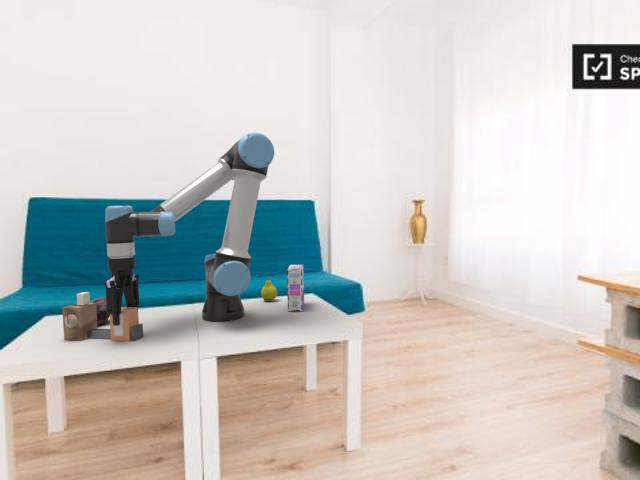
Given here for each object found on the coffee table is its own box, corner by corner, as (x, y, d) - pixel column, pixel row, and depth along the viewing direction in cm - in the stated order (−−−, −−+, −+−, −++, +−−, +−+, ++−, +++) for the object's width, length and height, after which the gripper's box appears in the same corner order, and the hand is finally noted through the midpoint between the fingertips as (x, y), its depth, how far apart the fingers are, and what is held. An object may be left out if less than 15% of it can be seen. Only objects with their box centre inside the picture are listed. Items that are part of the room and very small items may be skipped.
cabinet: (97, 333, 132) (96, 302, 131) (80, 341, 124) (78, 307, 123) (80, 333, 133) (79, 301, 132) (62, 340, 125) (60, 307, 124)
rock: (79, 332, 139) (111, 329, 141) (75, 308, 137) (108, 305, 139) (89, 318, 150) (119, 315, 152) (86, 296, 148) (116, 293, 150)
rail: (143, 336, 128) (142, 323, 128) (134, 340, 124) (134, 327, 123) (92, 334, 131) (91, 322, 130) (82, 339, 126) (81, 326, 126)
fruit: (279, 299, 179) (278, 271, 179) (275, 302, 173) (275, 274, 172) (263, 299, 180) (262, 272, 179) (259, 302, 173) (258, 274, 172)
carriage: (139, 335, 129) (138, 307, 128) (129, 341, 123) (127, 311, 123) (121, 335, 130) (120, 307, 129) (111, 340, 124) (109, 311, 124)
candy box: (303, 311, 156) (302, 268, 155) (287, 312, 156) (286, 268, 155) (304, 303, 170) (303, 263, 169) (290, 304, 170) (289, 264, 169)
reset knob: (90, 303, 129) (89, 292, 129) (83, 305, 126) (82, 294, 126) (84, 303, 130) (83, 292, 129) (77, 305, 127) (76, 294, 126)
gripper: (128, 253, 134) (131, 324, 136) (88, 260, 116) (93, 341, 118) (149, 253, 133) (153, 324, 135) (113, 260, 115) (117, 342, 117)
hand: (125, 332), depth 126 cm, fingers closed on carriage, 5 cm apart
